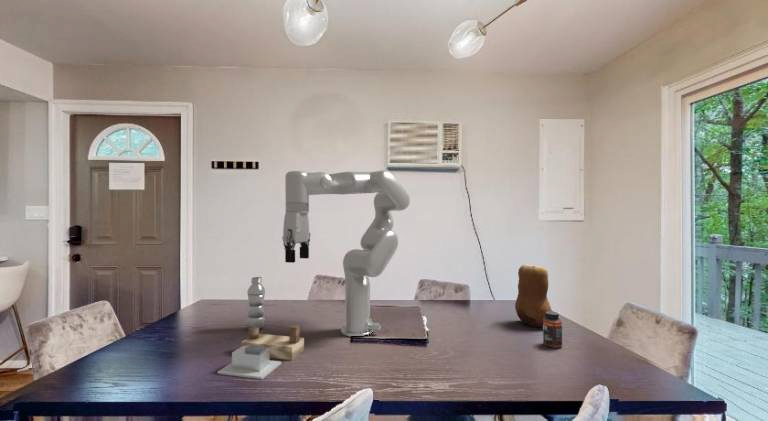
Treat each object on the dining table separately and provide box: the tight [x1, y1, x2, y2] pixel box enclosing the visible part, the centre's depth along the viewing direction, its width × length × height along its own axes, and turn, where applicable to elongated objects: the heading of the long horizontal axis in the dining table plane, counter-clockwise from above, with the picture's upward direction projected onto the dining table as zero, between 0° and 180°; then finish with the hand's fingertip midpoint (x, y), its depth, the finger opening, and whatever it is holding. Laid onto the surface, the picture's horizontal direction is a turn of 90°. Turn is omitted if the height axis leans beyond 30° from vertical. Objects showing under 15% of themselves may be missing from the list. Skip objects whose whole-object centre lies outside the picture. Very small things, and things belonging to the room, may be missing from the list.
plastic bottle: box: [246, 276, 266, 330], centre depth 132 cm, size 6×7×20 cm
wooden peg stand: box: [240, 324, 305, 361], centre depth 109 cm, size 18×8×9 cm, turn 77°
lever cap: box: [231, 344, 271, 372], centre depth 97 cm, size 9×5×6 cm, turn 77°
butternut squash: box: [514, 263, 553, 328], centre depth 138 cm, size 14×13×25 cm
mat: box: [217, 360, 282, 380], centre depth 97 cm, size 14×10×1 cm
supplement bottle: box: [542, 311, 563, 349], centre depth 116 cm, size 6×6×11 cm
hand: (297, 260), depth 110 cm, fingers open, 9 cm apart
